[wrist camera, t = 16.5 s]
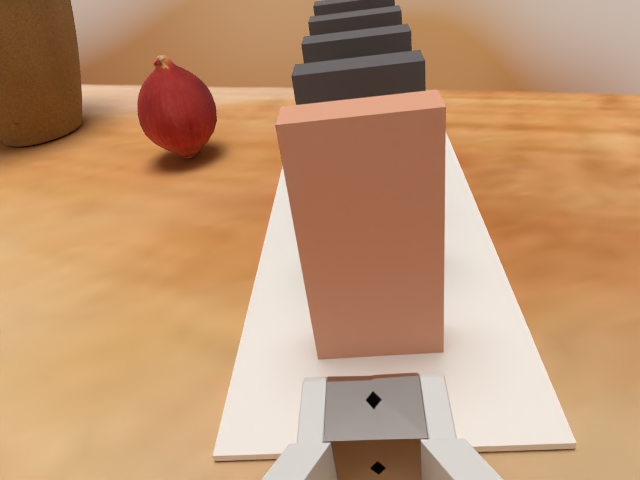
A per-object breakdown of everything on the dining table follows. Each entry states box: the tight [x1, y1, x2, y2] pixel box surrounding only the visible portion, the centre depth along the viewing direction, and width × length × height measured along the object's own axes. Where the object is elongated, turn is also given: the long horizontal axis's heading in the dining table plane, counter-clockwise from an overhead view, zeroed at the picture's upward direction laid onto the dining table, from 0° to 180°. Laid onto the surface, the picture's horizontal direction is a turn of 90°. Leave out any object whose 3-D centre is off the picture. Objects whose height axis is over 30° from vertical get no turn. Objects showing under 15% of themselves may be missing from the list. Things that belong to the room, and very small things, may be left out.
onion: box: [138, 55, 217, 158], centre depth 39 cm, size 6×6×8 cm
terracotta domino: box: [275, 90, 446, 360], centre depth 18 cm, size 5×2×10 cm, turn 87°
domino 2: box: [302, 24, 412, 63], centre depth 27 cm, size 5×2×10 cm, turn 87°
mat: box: [213, 133, 576, 461], centre depth 30 cm, size 12×32×1 cm, turn 177°
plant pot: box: [0, 0, 82, 147], centre depth 47 cm, size 15×15×16 cm
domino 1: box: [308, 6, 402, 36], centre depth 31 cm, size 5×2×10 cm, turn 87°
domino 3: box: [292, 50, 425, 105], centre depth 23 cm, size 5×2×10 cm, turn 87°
